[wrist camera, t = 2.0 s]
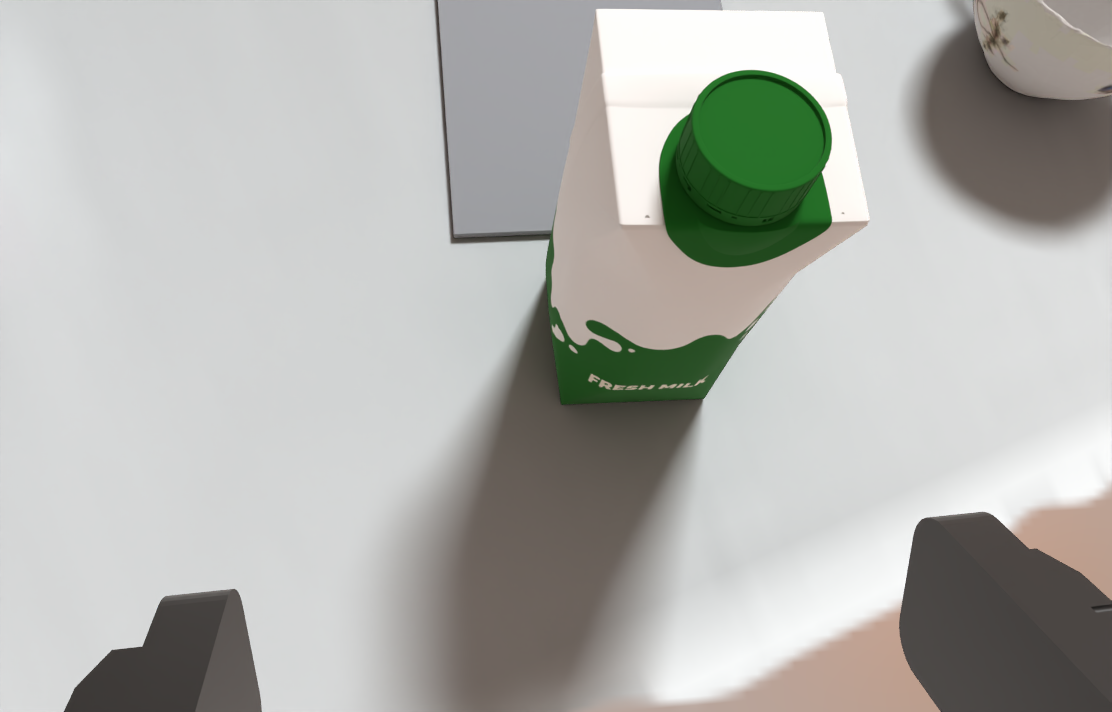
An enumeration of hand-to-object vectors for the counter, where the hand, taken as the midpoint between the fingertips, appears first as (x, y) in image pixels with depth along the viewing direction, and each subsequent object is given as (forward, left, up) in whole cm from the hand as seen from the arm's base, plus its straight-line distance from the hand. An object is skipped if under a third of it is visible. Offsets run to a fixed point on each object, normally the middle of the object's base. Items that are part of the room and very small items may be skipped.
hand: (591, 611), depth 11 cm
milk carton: (+8, +15, -29) cm, 34 cm away
